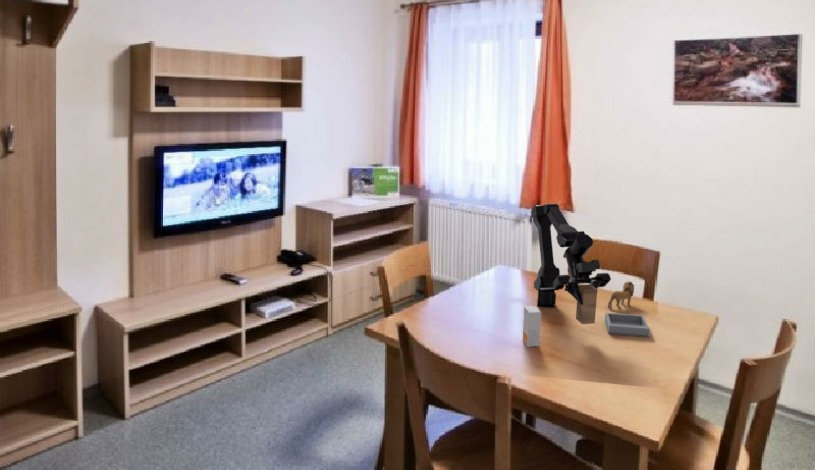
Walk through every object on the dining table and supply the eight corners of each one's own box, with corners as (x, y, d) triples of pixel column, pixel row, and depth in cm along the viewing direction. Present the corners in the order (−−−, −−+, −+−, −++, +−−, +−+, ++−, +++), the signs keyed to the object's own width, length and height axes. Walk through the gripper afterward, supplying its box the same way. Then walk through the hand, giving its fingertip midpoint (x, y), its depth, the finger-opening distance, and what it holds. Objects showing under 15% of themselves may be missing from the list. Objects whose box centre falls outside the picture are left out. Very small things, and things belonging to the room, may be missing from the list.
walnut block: (575, 318, 210) (578, 285, 207) (587, 318, 210) (590, 284, 207) (582, 324, 205) (584, 289, 202) (594, 323, 205) (597, 289, 203)
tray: (608, 333, 212) (609, 325, 211) (604, 320, 224) (605, 312, 224) (648, 337, 209) (649, 328, 209) (642, 323, 222) (643, 315, 221)
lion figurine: (623, 300, 246) (625, 278, 244) (636, 303, 242) (638, 282, 240) (604, 309, 236) (606, 286, 234) (617, 312, 232) (619, 289, 230)
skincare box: (522, 339, 207) (523, 305, 204) (534, 339, 207) (536, 305, 204) (527, 347, 201) (528, 312, 198) (539, 346, 201) (541, 312, 198)
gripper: (558, 252, 204) (570, 294, 196) (610, 249, 207) (624, 291, 199) (547, 268, 214) (558, 309, 206) (597, 265, 217) (610, 306, 209)
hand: (588, 303), depth 205 cm, fingers closed on walnut block, 4 cm apart
